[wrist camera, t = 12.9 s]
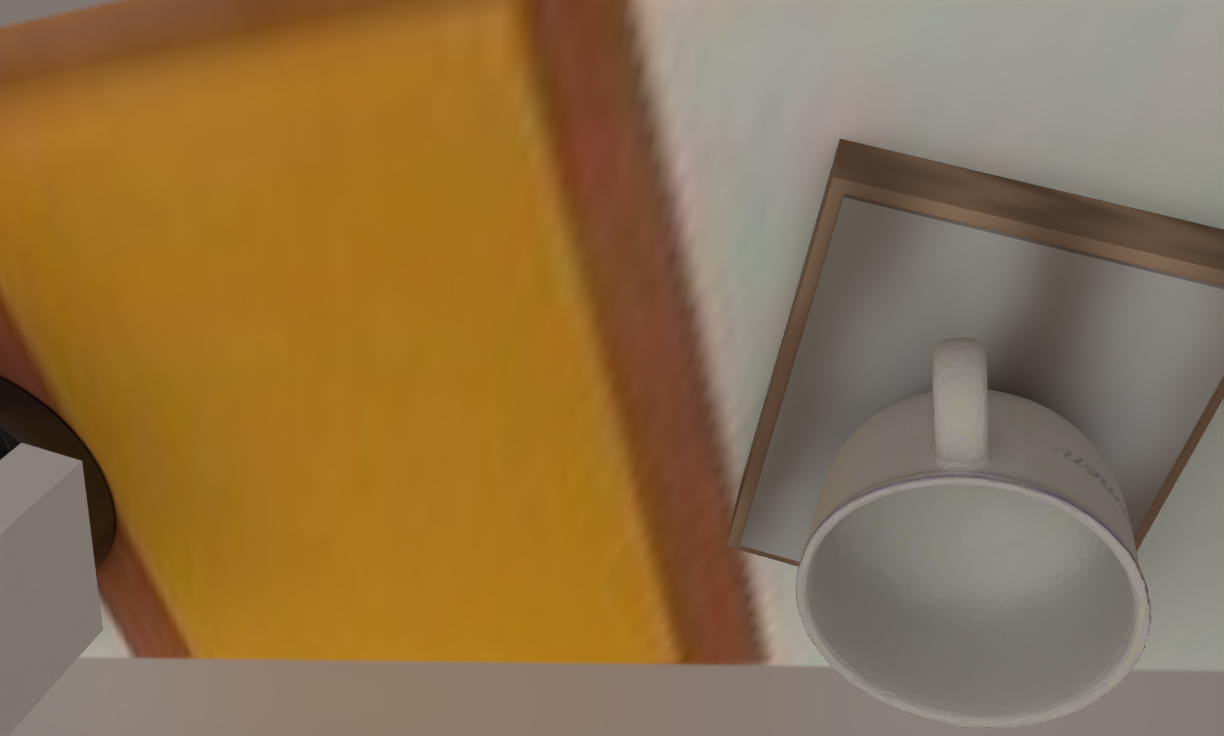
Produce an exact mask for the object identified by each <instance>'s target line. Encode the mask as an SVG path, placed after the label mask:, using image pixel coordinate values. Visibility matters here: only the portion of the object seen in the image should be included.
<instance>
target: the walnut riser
mask: <svg viewBox="0 0 1224 736" xmlns="http://www.w3.org/2000/svg"><path fill="white" fill-rule="evenodd" d="M959 337H968V338H973V339H976V340H978V341H981V342H982V344H983V345H984V347H985V351H986V358H987V388H988V390H994V391H999V392H1004V393H1009V394H1012V395H1016V396H1019V397H1022V398H1025V399H1029V400H1031V401H1033V402H1036V403H1038V404H1040V405H1042V406H1044V407H1046V408H1048V409H1051V410H1052V411H1054V412H1056V413H1057V414H1059V415H1060V416H1062V417H1064V418H1065V419H1066V420H1068V421H1069V422H1070V423H1071V424H1073V425H1074V426H1075V427H1077V428H1078V429H1079V430H1080V431H1082V432H1083V433H1084V435H1085V436H1086V437H1087V438H1088V439H1089V440H1090V441H1091V442H1092V443H1093V444H1094V445H1095V446H1096V447H1097V449H1098V450H1099V451H1100V453H1101V454H1102V455H1103V457H1104V459H1105V460H1106V462H1107V463H1108V465H1109V466H1110V468H1111V469H1112V471H1113V474H1114V476H1115V478H1116V480H1117V482H1118V485H1119V487H1120V490H1121V493H1122V496H1123V498H1124V501H1125V504H1126V508H1127V512H1128V516H1129V519H1130V523H1131V527H1132V532H1133V537H1134V542H1135V547H1136V551H1137V550H1138V548H1139V546H1140V544H1141V543H1142V541H1143V539H1144V537H1145V536H1146V534H1147V532H1148V530H1149V528H1150V527H1151V525H1152V523H1153V521H1154V520H1155V518H1156V516H1157V514H1158V513H1159V511H1160V509H1161V507H1162V506H1163V504H1164V502H1165V500H1166V498H1167V497H1168V495H1169V493H1170V491H1171V490H1172V488H1173V486H1174V484H1175V483H1176V481H1177V479H1178V477H1179V475H1180V474H1181V472H1182V470H1183V468H1184V467H1185V465H1186V463H1187V461H1188V460H1189V458H1190V456H1191V454H1192V452H1193V451H1194V449H1195V447H1196V445H1197V444H1198V442H1199V440H1200V438H1201V437H1202V435H1203V433H1204V431H1205V429H1206V428H1207V426H1208V424H1209V422H1210V421H1211V419H1212V417H1213V415H1214V414H1215V412H1216V410H1217V408H1218V406H1219V405H1220V403H1221V401H1222V399H1223V398H1224V230H1222V229H1218V228H1214V227H1209V226H1205V225H1201V224H1197V223H1193V222H1188V221H1184V220H1180V219H1176V218H1171V217H1167V216H1163V215H1159V214H1155V213H1150V212H1146V211H1142V210H1138V209H1133V208H1129V207H1125V206H1121V205H1117V204H1112V203H1108V202H1104V201H1100V200H1095V199H1091V198H1087V197H1083V196H1079V195H1074V194H1070V193H1066V192H1062V191H1057V190H1053V189H1049V188H1045V187H1041V186H1036V185H1032V184H1028V183H1024V182H1019V181H1015V180H1011V179H1007V178H1003V177H998V176H994V175H990V174H986V173H981V172H977V171H973V170H969V169H965V168H960V167H956V166H952V165H948V164H943V163H939V162H935V161H931V160H926V159H922V158H918V157H914V156H910V155H905V154H901V153H897V152H893V151H888V150H884V149H880V148H876V147H872V146H867V145H863V144H859V143H855V142H850V141H846V140H842V139H840V141H839V145H838V148H837V152H836V155H835V159H834V162H833V166H832V169H831V172H830V176H829V179H828V183H827V186H826V190H825V193H824V197H823V200H822V204H821V207H820V211H819V214H818V218H817V221H816V225H815V228H814V232H813V235H812V238H811V242H810V245H809V249H808V252H807V256H806V259H805V263H804V266H803V270H802V273H801V277H800V280H799V284H798V287H797V291H796V294H795V298H794V301H793V305H792V308H791V311H790V315H789V318H788V322H787V325H786V329H785V332H784V336H783V339H782V343H781V346H780V350H779V353H778V357H777V360H776V364H775V367H774V371H773V374H772V377H771V381H770V384H769V388H768V391H767V395H766V398H765V402H764V405H763V409H762V412H761V416H760V419H759V423H758V426H757V430H756V433H755V437H754V440H753V444H752V447H751V450H750V454H749V457H748V461H747V464H746V468H745V471H744V475H743V478H742V482H741V485H740V489H739V493H738V497H737V502H736V506H735V510H734V515H733V519H732V524H731V528H730V533H729V537H728V541H727V546H728V547H732V548H735V549H739V550H742V551H746V552H749V553H753V554H756V555H760V556H763V557H767V558H770V559H774V560H777V561H781V562H785V563H788V564H792V565H795V566H799V562H800V559H801V556H802V554H803V550H804V548H805V546H806V543H807V541H808V539H809V534H810V530H811V525H812V521H813V517H814V514H815V510H816V506H817V502H818V499H819V495H820V492H821V489H822V486H823V483H824V480H825V478H826V475H827V472H828V470H829V468H830V466H831V464H832V462H833V460H834V458H835V457H836V455H837V453H838V452H839V450H840V449H841V447H842V446H843V444H844V443H845V441H846V440H847V439H848V438H849V437H850V435H851V434H852V433H853V432H854V431H855V430H856V429H857V428H858V427H859V426H861V425H862V424H863V423H864V422H865V421H866V420H867V419H869V418H870V417H871V416H873V415H874V414H876V413H877V412H879V411H880V410H882V409H884V408H886V407H888V406H890V405H892V404H894V403H896V402H898V401H901V400H903V399H906V398H909V397H911V396H914V395H919V394H923V393H927V392H931V391H933V348H934V346H935V345H936V344H937V343H938V342H940V341H942V340H945V339H951V338H959Z"/></svg>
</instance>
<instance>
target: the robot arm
mask: <svg viewBox="0 0 1224 736" xmlns="http://www.w3.org/2000/svg"><path fill="white" fill-rule="evenodd" d="M114 523H115V522H114V512H113V506H112V502H111V498H110V495H109V492H108V489H107V487H106V484H105V482H104V480H103V478H102V475H101V473H100V472H99V470H98V468H97V466H96V464H95V463H94V461H93V460H92V458H91V456H90V455H89V454H88V452H87V451H86V449H85V448H84V447H83V445H82V444H81V443H80V441H79V440H78V439H77V438H76V437H75V436H74V434H73V433H72V432H71V431H70V430H69V429H68V428H67V427H66V426H65V425H64V424H63V423H62V422H61V421H60V420H59V419H58V418H57V417H56V416H55V415H54V414H53V413H52V412H50V411H49V410H48V409H47V408H46V407H44V406H43V405H42V404H41V403H39V402H38V401H37V400H35V399H34V398H33V397H31V396H30V395H28V394H27V393H25V392H24V391H22V390H21V389H19V388H17V387H16V386H14V385H12V384H10V383H9V382H7V381H5V380H3V379H1V378H0V736H8V735H9V734H10V733H11V732H12V731H13V730H14V729H15V728H16V726H17V725H18V724H19V723H20V722H21V721H22V719H24V717H25V716H26V715H27V714H28V713H29V712H30V711H31V710H32V708H33V707H34V706H35V705H36V704H37V703H38V702H39V700H40V699H41V698H42V697H43V696H44V695H45V694H46V693H47V692H48V690H49V689H50V688H51V687H52V686H53V685H54V684H55V682H56V681H57V680H58V679H59V678H60V677H61V676H62V675H63V674H64V672H65V671H66V670H67V669H68V668H69V667H70V666H71V664H72V663H73V662H74V661H75V660H76V659H77V658H78V657H79V656H80V654H81V653H82V652H83V651H84V650H85V649H86V648H87V647H88V645H89V644H90V643H91V642H92V641H93V640H94V639H95V638H96V636H97V635H98V634H99V633H100V632H101V631H102V630H103V626H102V618H101V610H100V602H99V594H98V586H97V578H96V570H95V569H96V568H97V567H98V566H99V565H100V564H101V563H102V561H103V560H104V559H105V557H106V556H107V554H108V552H109V550H110V548H111V545H112V541H113V537H114Z"/></svg>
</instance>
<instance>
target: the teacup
mask: <svg viewBox="0 0 1224 736" xmlns="http://www.w3.org/2000/svg"><path fill="white" fill-rule="evenodd" d="M796 600H797V604H798V609H799V614H800V616H801V619H802V622H803V624H804V627H805V629H806V631H807V633H808V635H809V637H810V639H811V641H812V642H813V644H814V645H815V646H816V648H817V649H818V651H819V652H820V653H821V655H822V656H823V657H824V659H825V660H826V661H827V662H828V663H829V664H830V665H831V666H832V667H833V668H834V669H835V670H836V671H837V672H838V673H839V674H840V675H842V676H843V677H844V678H845V679H846V680H847V681H849V682H850V683H852V684H853V685H854V686H856V687H857V688H859V689H860V690H861V691H863V692H865V693H866V694H868V695H870V696H872V697H873V698H876V699H877V700H879V701H882V702H883V703H886V704H888V705H890V706H892V707H894V708H897V709H899V710H902V711H905V712H908V713H911V714H914V715H916V716H919V717H922V718H925V719H930V720H935V721H940V722H943V723H947V724H950V725H955V726H960V727H965V728H967V727H987V728H988V727H989V728H990V727H1006V728H1012V727H1018V726H1023V725H1031V724H1039V723H1044V722H1048V721H1051V720H1054V719H1057V718H1060V717H1063V716H1066V715H1069V714H1072V713H1074V712H1076V711H1079V710H1081V709H1083V708H1085V707H1086V706H1088V705H1090V704H1092V703H1093V702H1095V701H1097V700H1099V699H1100V698H1102V697H1103V696H1104V695H1106V694H1107V693H1108V692H1110V691H1111V690H1113V689H1114V688H1115V687H1116V686H1117V685H1118V684H1119V683H1120V682H1121V680H1123V679H1124V678H1125V677H1126V675H1128V673H1129V672H1130V671H1131V669H1132V668H1133V666H1134V665H1135V664H1136V662H1137V661H1138V660H1139V658H1140V655H1141V653H1142V651H1143V650H1144V648H1145V642H1146V639H1147V636H1148V633H1149V628H1150V624H1151V615H1150V609H1151V606H1150V601H1149V595H1148V588H1147V585H1146V583H1145V580H1144V577H1143V575H1142V572H1141V570H1140V567H1139V563H1138V558H1137V552H1136V547H1135V542H1134V537H1133V532H1132V527H1131V523H1130V519H1129V516H1128V512H1127V508H1126V504H1125V501H1124V498H1123V496H1122V493H1121V490H1120V487H1119V485H1118V482H1117V480H1116V478H1115V476H1114V474H1113V471H1112V469H1111V468H1110V466H1109V465H1108V463H1107V462H1106V460H1105V459H1104V457H1103V455H1102V454H1101V453H1100V451H1099V450H1098V449H1097V447H1096V446H1095V445H1094V444H1093V443H1092V442H1091V441H1090V440H1089V439H1088V438H1087V437H1086V436H1085V435H1084V433H1083V432H1082V431H1080V430H1079V429H1078V428H1077V427H1075V426H1074V425H1073V424H1071V423H1070V422H1069V421H1068V420H1066V419H1065V418H1064V417H1062V416H1060V415H1059V414H1057V413H1056V412H1054V411H1052V410H1051V409H1048V408H1046V407H1044V406H1042V405H1040V404H1038V403H1036V402H1033V401H1031V400H1029V399H1025V398H1022V397H1019V396H1016V395H1012V394H1009V393H1004V392H999V391H994V390H988V388H987V358H986V351H985V347H984V345H983V344H982V342H981V341H978V340H976V339H973V338H968V337H959V338H951V339H945V340H942V341H940V342H938V343H937V344H936V345H935V346H934V348H933V391H931V392H927V393H923V394H919V395H914V396H911V397H909V398H906V399H903V400H901V401H898V402H896V403H894V404H892V405H890V406H888V407H886V408H884V409H882V410H880V411H879V412H877V413H876V414H874V415H873V416H871V417H870V418H869V419H867V420H866V421H865V422H864V423H863V424H862V425H861V426H859V427H858V428H857V429H856V430H855V431H854V432H853V433H852V434H851V435H850V437H849V438H848V439H847V440H846V441H845V443H844V444H843V446H842V447H841V449H840V450H839V452H838V453H837V455H836V457H835V458H834V460H833V462H832V464H831V466H830V468H829V470H828V472H827V475H826V478H825V480H824V483H823V486H822V489H821V492H820V495H819V499H818V502H817V506H816V510H815V514H814V517H813V521H812V525H811V530H810V534H809V539H808V541H807V543H806V546H805V548H804V550H803V554H802V556H801V559H800V562H799V567H798V572H797V582H796Z"/></svg>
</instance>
